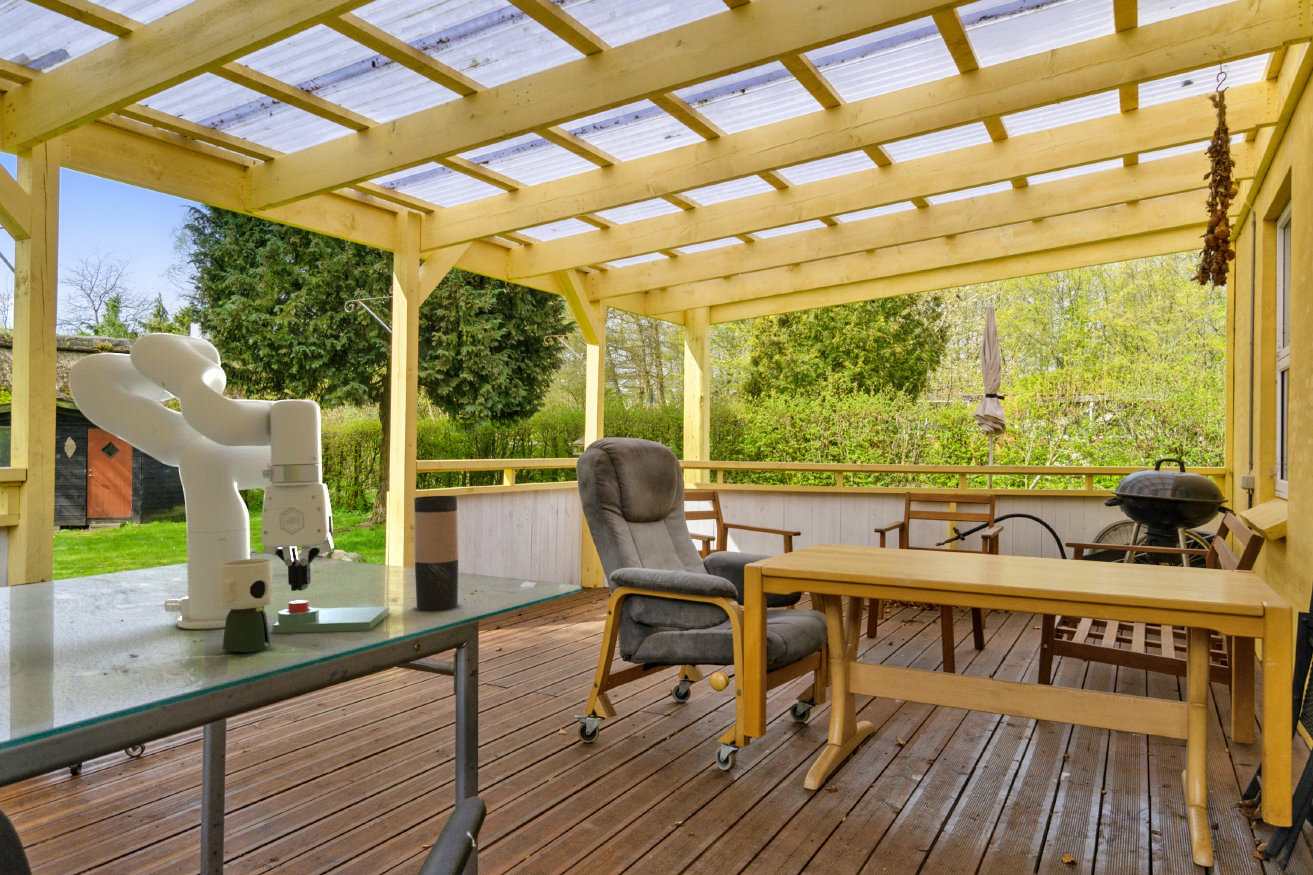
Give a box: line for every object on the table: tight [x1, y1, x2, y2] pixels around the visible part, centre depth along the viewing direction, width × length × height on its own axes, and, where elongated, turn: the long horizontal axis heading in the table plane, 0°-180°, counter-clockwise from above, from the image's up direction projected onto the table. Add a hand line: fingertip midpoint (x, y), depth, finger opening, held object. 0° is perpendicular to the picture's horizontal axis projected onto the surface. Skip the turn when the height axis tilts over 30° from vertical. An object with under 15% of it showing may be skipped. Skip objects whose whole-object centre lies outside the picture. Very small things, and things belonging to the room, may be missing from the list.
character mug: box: [219, 558, 274, 655], centre depth 124 cm, size 11×7×13 cm, turn 175°
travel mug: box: [413, 495, 459, 612], centre depth 155 cm, size 8×8×20 cm
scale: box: [272, 605, 390, 634], centre depth 143 cm, size 15×13×3 cm
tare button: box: [287, 599, 310, 613], centre depth 139 cm, size 3×3×2 cm
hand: (299, 588), depth 139 cm, fingers closed
